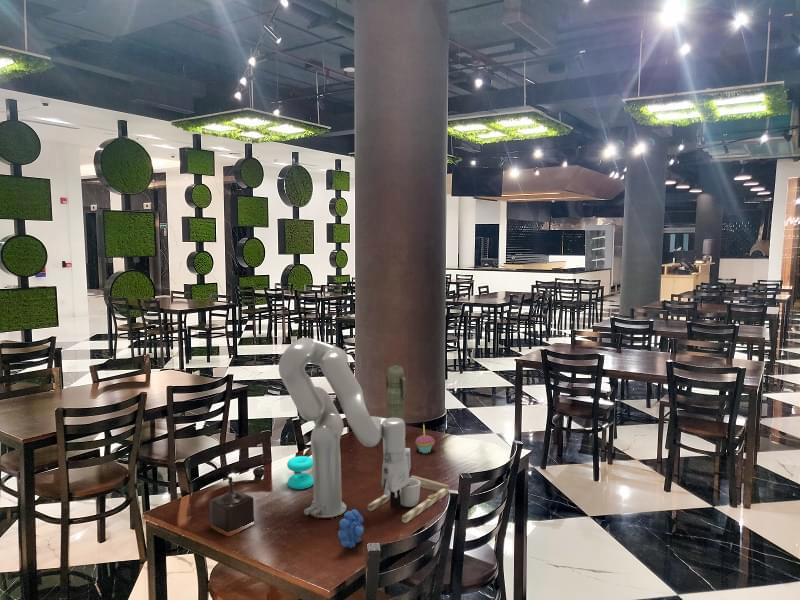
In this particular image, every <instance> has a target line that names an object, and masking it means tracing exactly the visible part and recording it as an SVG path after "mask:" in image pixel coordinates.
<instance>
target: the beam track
mask: <svg viewBox="0 0 800 600" xmlns="http://www.w3.org/2000/svg"><path fill="white" fill-rule="evenodd" d="M409 478H415V479H418V480H419V481H420V482H421V486H420V488H422V489H426V490H429V491H433V492H436V493H434V494H430V495H428V496H427V499H425V500H423V501H422V502H421V503H418V504H417V505H416V506H414V507H413V508H412V509H410V510H409V511H407V512H406V513H405V514H403V515H402V516H401V522H402V523H405V524H407V523H408V522H410V521H411V520H413V519H414V518H415V517H417V516H418V515H420V514H421V513H422V512H424V511H426V510H427V509H428V508H429V507H431V506H432V505H433V504H435V503H437V502H438V501H440V500H441V499H442V498H444V497H445V496H446V495H448V494H449V493H448V491H449V490H450V486H449V484H447V483H443V482H439V481H435V480H431V479H428V478H423V477H421V476H417V475H409ZM449 492H450V491H449ZM388 502H390V496H387V495H384V494H383V495H381V496H380V497H378V498H376V499H375V500H373V501H371V502H369V503H368V504H367V511H368V510H369V511H368V512H373V511H374V510H376V509H377V508H379V507H381V506H382V505H385V503H388Z"/></svg>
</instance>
